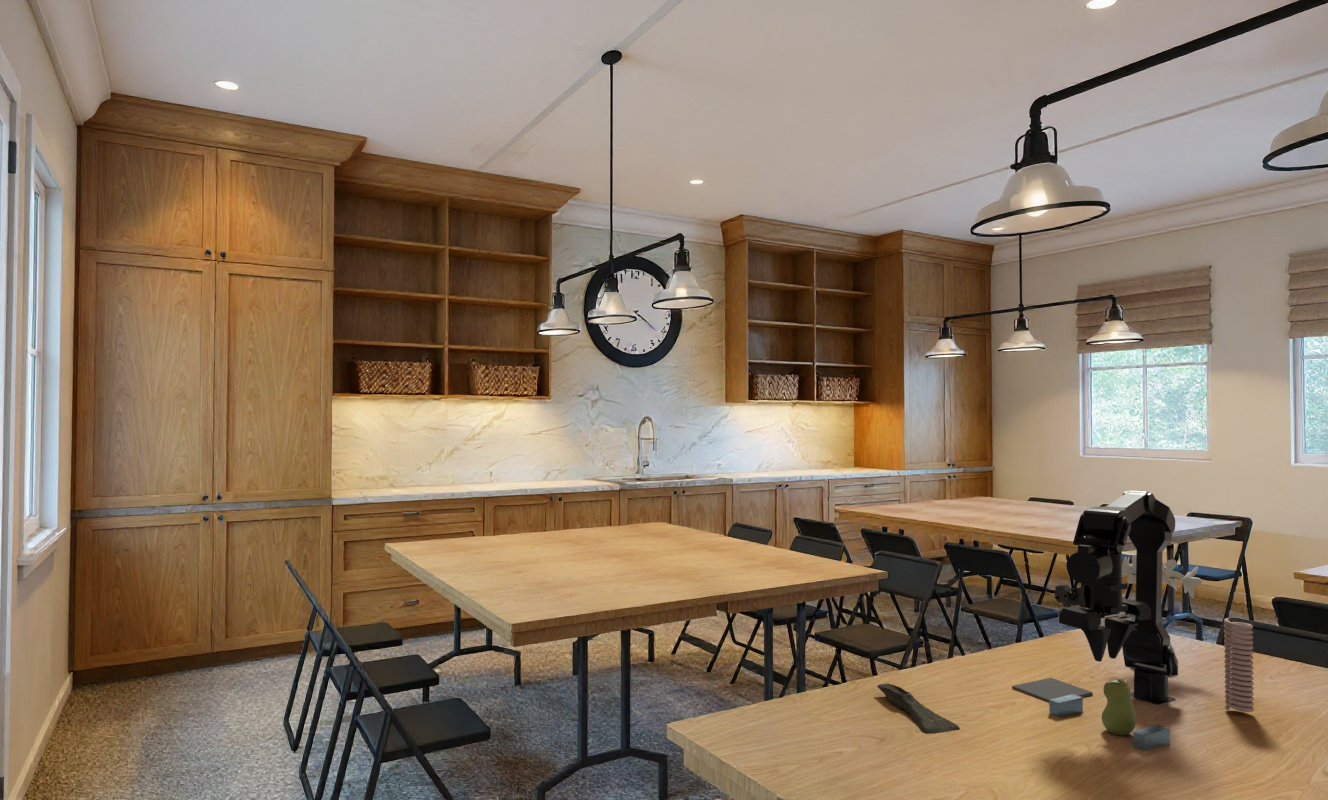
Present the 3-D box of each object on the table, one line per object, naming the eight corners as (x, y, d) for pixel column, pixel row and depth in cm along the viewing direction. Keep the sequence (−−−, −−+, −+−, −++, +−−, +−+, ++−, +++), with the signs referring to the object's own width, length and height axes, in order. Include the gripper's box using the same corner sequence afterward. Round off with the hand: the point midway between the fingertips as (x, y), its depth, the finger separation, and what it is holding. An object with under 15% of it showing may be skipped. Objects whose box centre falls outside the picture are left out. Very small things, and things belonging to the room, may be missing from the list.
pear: (1123, 742, 141) (1122, 686, 141) (1095, 732, 146) (1094, 677, 146) (1142, 736, 144) (1141, 681, 144) (1113, 726, 148) (1113, 673, 149)
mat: (1050, 680, 174) (1050, 677, 174) (1092, 695, 165) (1092, 692, 165) (1012, 688, 169) (1012, 685, 169) (1053, 704, 160) (1053, 701, 160)
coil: (1250, 709, 157) (1249, 618, 157) (1256, 717, 153) (1255, 624, 153) (1222, 705, 159) (1221, 616, 159) (1227, 713, 154) (1226, 621, 155)
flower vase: (1211, 671, 179) (1210, 561, 180) (1130, 671, 180) (1129, 561, 180) (1175, 653, 192) (1174, 551, 193) (1099, 653, 193) (1098, 551, 193)
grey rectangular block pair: (1073, 709, 157) (1073, 693, 157) (1169, 745, 140) (1169, 728, 140) (1049, 715, 154) (1049, 699, 154) (1144, 753, 137) (1144, 735, 137)
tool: (962, 737, 145) (963, 720, 145) (927, 742, 143) (927, 726, 142) (895, 689, 165) (896, 675, 165) (863, 693, 162) (864, 679, 162)
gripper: (1097, 564, 159) (1098, 641, 159) (1033, 572, 151) (1033, 654, 151) (1152, 574, 149) (1153, 657, 149) (1086, 584, 141) (1087, 671, 141)
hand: (1105, 659), depth 147 cm, fingers open, 4 cm apart
